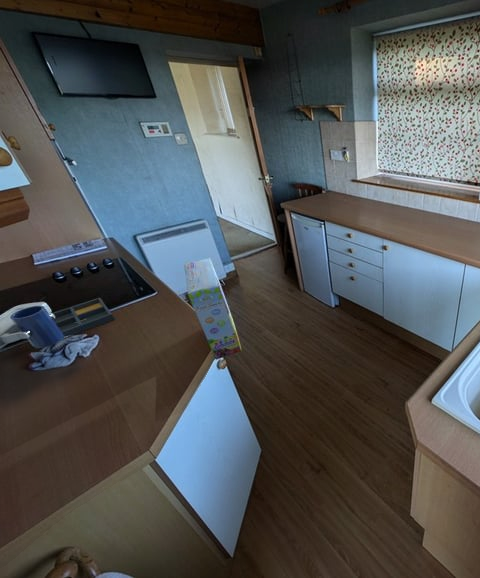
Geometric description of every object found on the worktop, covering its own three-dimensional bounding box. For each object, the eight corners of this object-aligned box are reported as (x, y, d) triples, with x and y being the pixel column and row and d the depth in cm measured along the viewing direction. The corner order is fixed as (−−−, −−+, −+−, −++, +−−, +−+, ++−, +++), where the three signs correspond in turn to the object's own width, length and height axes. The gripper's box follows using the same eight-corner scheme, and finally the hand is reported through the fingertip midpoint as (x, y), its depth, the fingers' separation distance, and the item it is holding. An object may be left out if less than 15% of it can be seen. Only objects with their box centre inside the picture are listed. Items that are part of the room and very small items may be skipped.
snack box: (206, 325, 107) (182, 262, 94) (232, 317, 111) (212, 256, 98) (213, 361, 92) (185, 292, 78) (243, 351, 96) (221, 284, 83)
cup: (34, 351, 79) (11, 322, 74) (32, 341, 82) (9, 312, 77) (66, 340, 83) (45, 311, 78) (62, 331, 87) (42, 303, 81)
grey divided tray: (49, 344, 98) (45, 338, 97) (42, 323, 107) (37, 317, 106) (115, 319, 110) (111, 314, 108) (103, 302, 119) (99, 297, 118)
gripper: (23, 316, 88) (75, 312, 90) (-51, 365, 71) (15, 359, 73) (9, 298, 85) (63, 295, 87) (-72, 346, 68) (-2, 340, 70)
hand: (41, 325), depth 80 cm, fingers closed on cup, 6 cm apart
